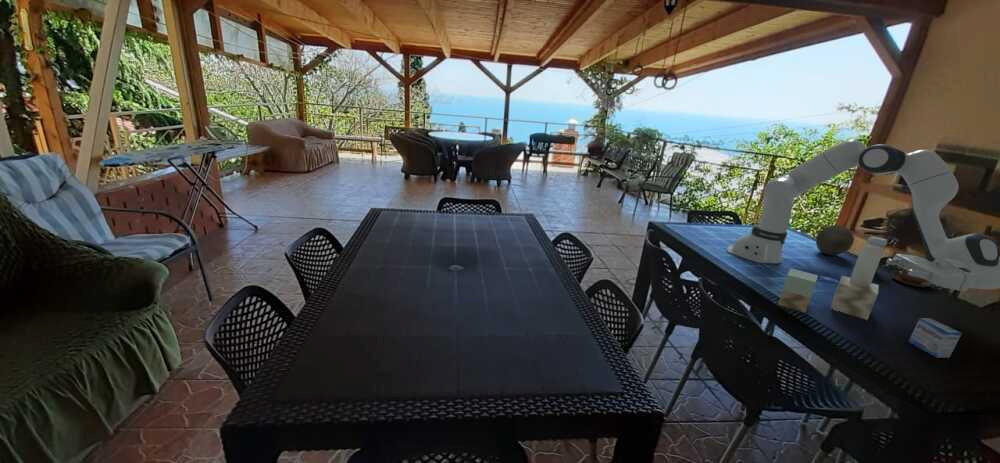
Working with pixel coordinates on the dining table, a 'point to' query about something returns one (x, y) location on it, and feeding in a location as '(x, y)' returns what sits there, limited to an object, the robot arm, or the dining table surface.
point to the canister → (866, 265)
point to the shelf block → (854, 298)
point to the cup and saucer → (911, 279)
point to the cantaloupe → (834, 240)
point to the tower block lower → (794, 301)
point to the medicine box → (934, 338)
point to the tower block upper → (800, 282)
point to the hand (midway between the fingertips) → (898, 266)
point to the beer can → (877, 242)
